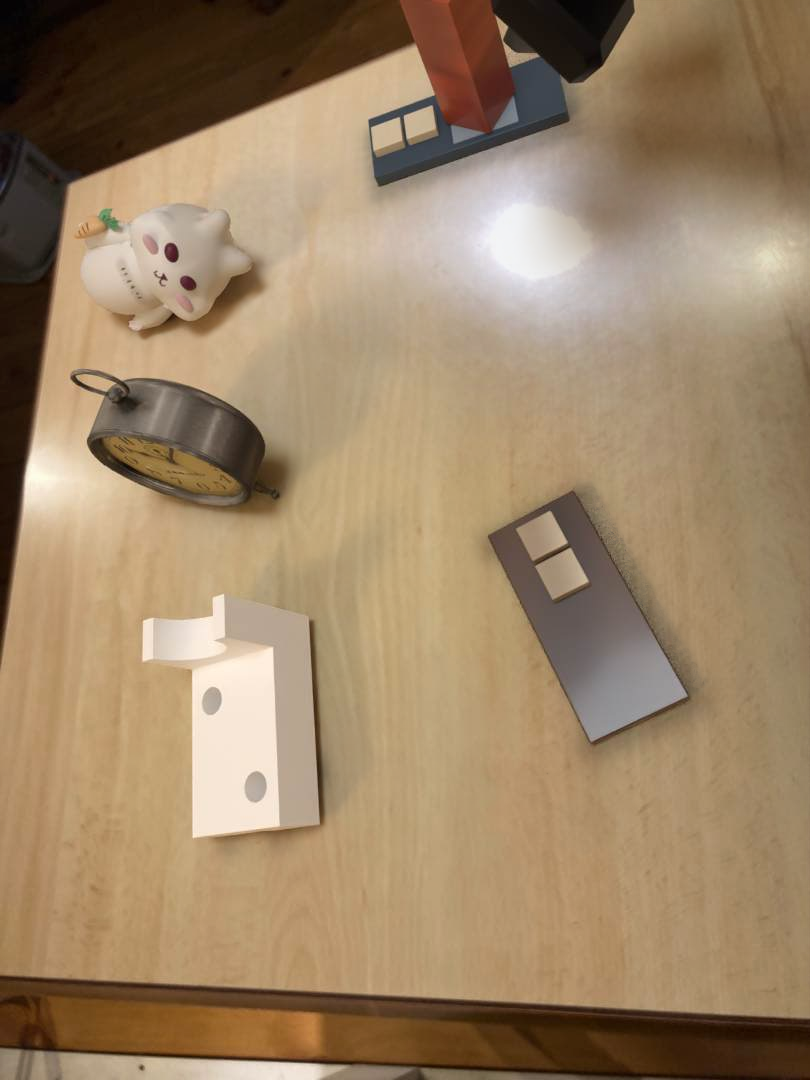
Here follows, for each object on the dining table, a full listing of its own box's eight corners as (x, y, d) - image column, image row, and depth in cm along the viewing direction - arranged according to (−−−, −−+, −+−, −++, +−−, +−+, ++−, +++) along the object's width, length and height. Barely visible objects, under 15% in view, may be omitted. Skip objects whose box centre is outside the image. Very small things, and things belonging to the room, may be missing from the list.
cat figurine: (23, 244, 63) (180, 188, 56) (81, 204, 68) (229, 149, 62) (95, 355, 68) (245, 315, 62) (142, 309, 74) (285, 269, 67)
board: (575, 495, 52) (571, 484, 51) (690, 699, 46) (689, 694, 45) (490, 540, 53) (483, 531, 52) (592, 745, 47) (588, 742, 46)
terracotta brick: (516, 90, 62) (479, -47, 53) (490, 134, 62) (448, 3, 52) (471, 81, 64) (427, -53, 54) (445, 123, 64) (396, -5, 54)
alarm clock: (160, 504, 63) (-6, 407, 48) (181, 438, 64) (26, 325, 50) (286, 520, 59) (146, 419, 44) (305, 449, 60) (175, 329, 46)
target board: (556, 61, 63) (552, 41, 62) (569, 121, 61) (565, 101, 60) (372, 128, 68) (364, 111, 66) (378, 186, 65) (370, 170, 64)
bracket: (230, 639, 58) (143, 620, 52) (308, 616, 55) (224, 593, 49) (234, 835, 54) (138, 840, 48) (319, 824, 50) (228, 828, 44)
